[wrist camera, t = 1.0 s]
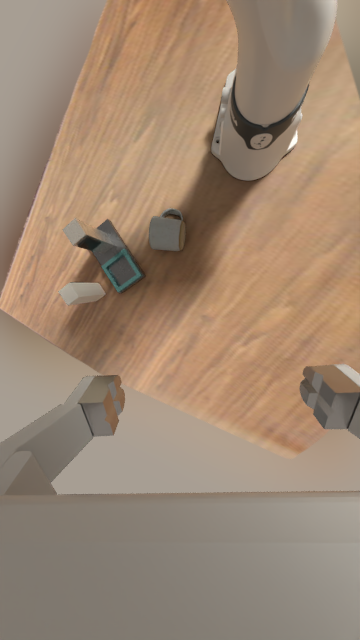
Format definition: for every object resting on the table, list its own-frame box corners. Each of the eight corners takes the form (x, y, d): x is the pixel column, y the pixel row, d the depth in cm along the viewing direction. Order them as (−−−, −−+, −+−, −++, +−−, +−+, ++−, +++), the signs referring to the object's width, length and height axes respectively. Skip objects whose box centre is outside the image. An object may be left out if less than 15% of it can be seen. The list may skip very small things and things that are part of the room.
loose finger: (88, 289, 58) (57, 290, 46) (97, 281, 57) (68, 281, 45) (96, 301, 58) (67, 305, 46) (106, 294, 57) (79, 296, 45)
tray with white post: (87, 240, 55) (48, 226, 42) (110, 220, 53) (76, 200, 40) (121, 293, 56) (94, 295, 43) (145, 276, 54) (124, 273, 41)
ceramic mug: (184, 254, 51) (180, 248, 44) (155, 251, 52) (146, 245, 45) (189, 211, 49) (185, 198, 42) (158, 210, 50) (149, 196, 43)
